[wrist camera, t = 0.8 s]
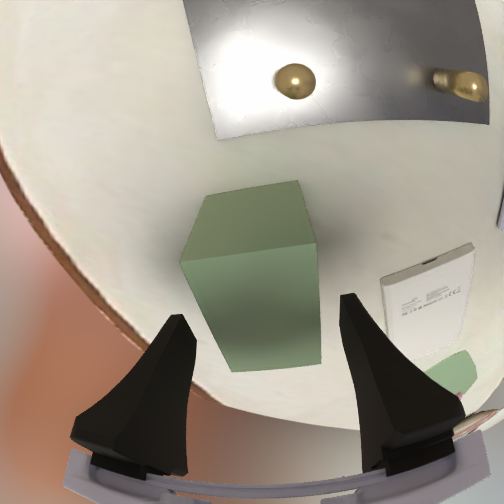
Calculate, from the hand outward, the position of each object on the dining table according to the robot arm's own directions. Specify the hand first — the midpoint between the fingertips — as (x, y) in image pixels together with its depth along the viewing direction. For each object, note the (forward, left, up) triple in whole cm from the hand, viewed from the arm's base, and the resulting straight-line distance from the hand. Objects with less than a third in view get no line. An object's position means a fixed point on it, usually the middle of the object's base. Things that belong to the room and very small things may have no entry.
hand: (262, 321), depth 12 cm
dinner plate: (-50, +76, -6) cm, 91 cm away
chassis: (-7, -15, -6) cm, 17 cm away
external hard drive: (-13, +9, -6) cm, 17 cm away
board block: (0, 0, -6) cm, 6 cm away
